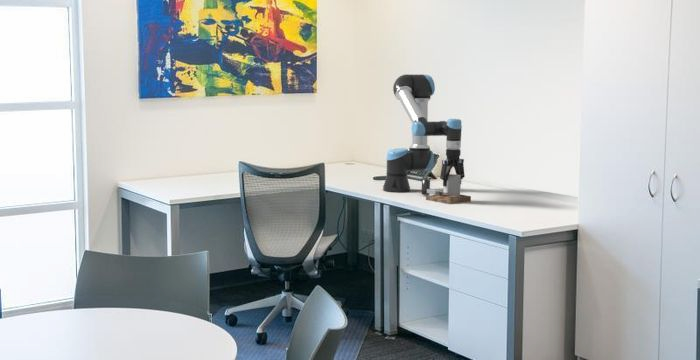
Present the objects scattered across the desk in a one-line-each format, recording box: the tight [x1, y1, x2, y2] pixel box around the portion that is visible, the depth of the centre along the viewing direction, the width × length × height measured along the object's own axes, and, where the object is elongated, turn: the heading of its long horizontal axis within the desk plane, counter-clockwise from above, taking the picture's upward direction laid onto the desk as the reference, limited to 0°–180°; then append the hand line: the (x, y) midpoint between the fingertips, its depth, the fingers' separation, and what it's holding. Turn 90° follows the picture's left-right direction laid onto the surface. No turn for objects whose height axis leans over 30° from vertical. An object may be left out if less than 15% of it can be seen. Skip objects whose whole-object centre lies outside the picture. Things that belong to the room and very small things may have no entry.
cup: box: [444, 173, 462, 196], centre depth 468 cm, size 8×8×10 cm
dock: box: [425, 189, 472, 205], centre depth 469 cm, size 17×16×4 cm
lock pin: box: [421, 178, 445, 196], centre depth 480 cm, size 16×4×8 cm, turn 38°
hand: (451, 191), depth 469 cm, fingers closed on cup, 8 cm apart
